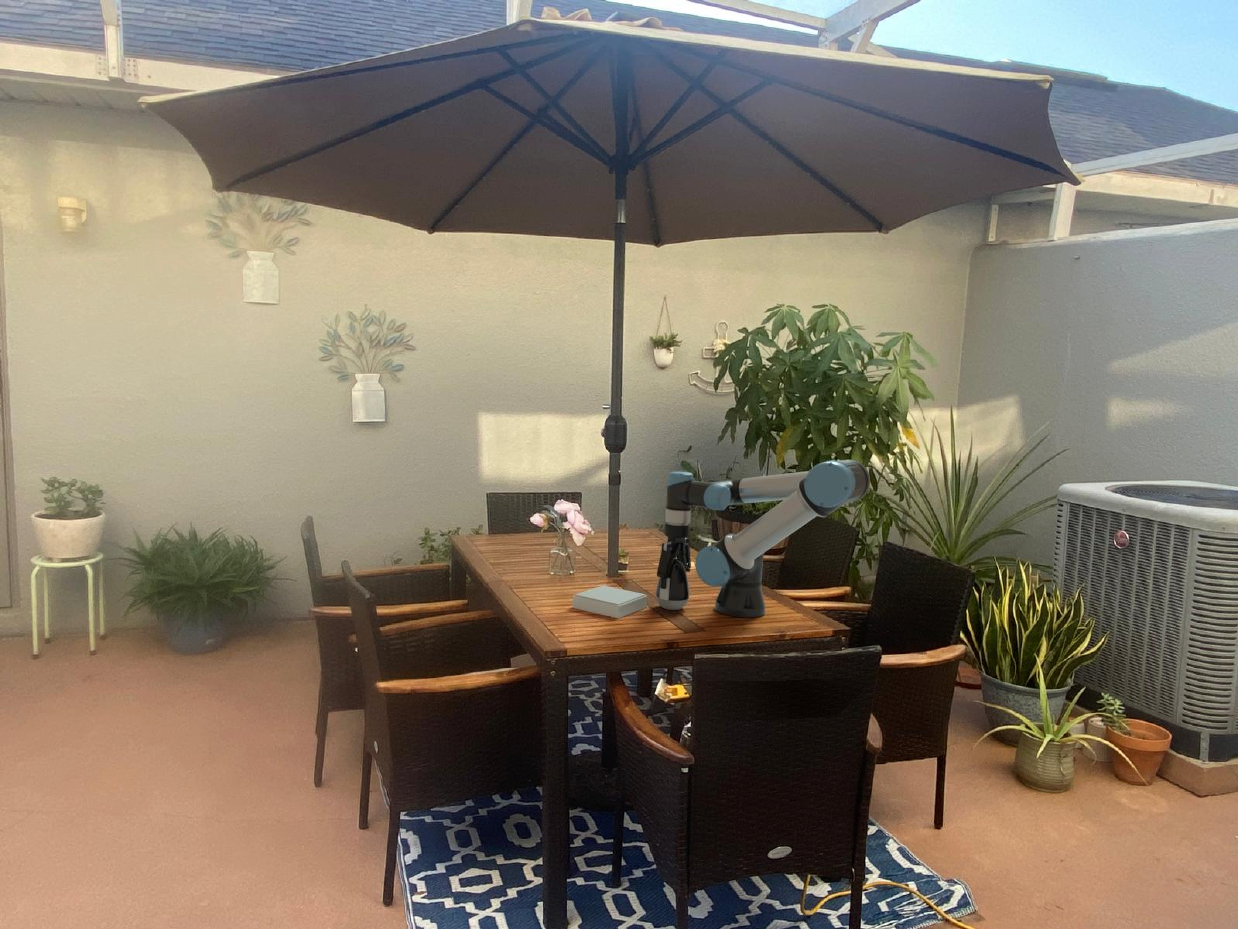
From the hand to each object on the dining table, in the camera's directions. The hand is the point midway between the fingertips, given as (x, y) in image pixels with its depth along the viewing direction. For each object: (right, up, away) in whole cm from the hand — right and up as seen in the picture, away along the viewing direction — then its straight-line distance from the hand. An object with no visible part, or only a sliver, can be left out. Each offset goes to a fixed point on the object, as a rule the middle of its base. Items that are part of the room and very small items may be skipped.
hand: (672, 595), depth 252 cm
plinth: (-19, -3, -3) cm, 19 cm away
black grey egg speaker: (0, -4, 0) cm, 4 cm away
